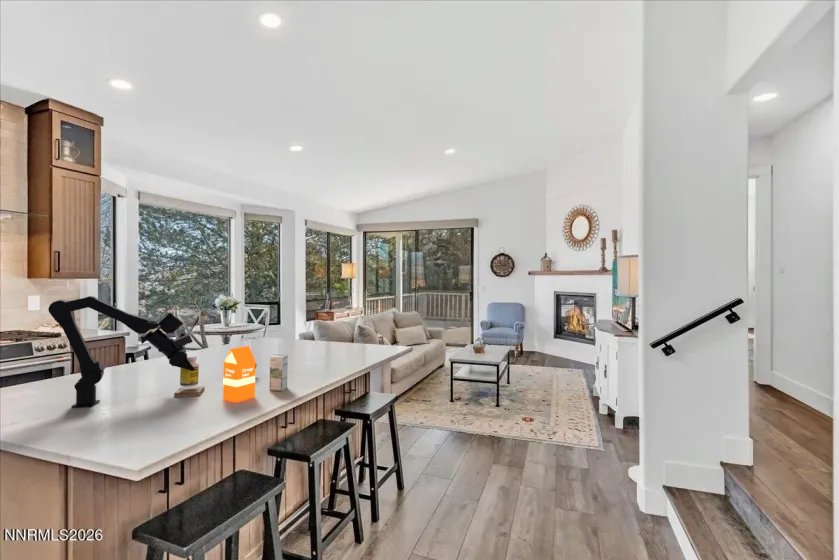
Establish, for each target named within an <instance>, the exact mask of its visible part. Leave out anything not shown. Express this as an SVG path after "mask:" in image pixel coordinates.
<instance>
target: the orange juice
mask: <svg viewBox="0 0 839 560" xmlns="http://www.w3.org/2000/svg"><path fill="white" fill-rule="evenodd" d="M253 354H254V353H252V350H251V348H250V346H249V345H246V346H240V347H239V346H238V347H235V348H230V349H229V351H228V353H227V355H226V357H225V358H224V361H223V375H222V376H223V379H222V382H223V383H222V384H223V387H222V390H223V391H222V393H223V394H222V400H223V399H224V401H226V400H228V402H231V401H232V403H235V402H237V403H241V402H244V401H246V399H247V400H249V398H251V399H253V397H254V398H255V397H256V369H255V363H256V359H255V357H254V355H253ZM243 400H244V401H243ZM240 401H241V402H240Z"/></svg>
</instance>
